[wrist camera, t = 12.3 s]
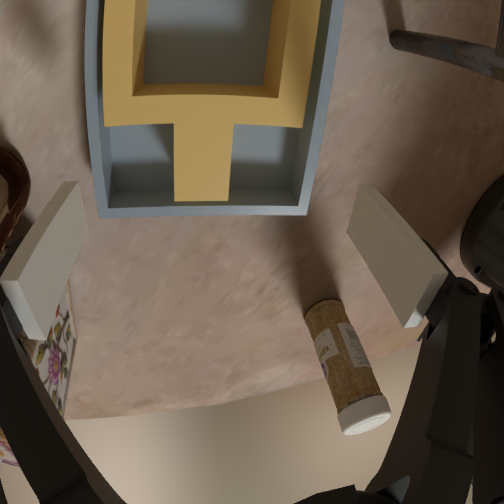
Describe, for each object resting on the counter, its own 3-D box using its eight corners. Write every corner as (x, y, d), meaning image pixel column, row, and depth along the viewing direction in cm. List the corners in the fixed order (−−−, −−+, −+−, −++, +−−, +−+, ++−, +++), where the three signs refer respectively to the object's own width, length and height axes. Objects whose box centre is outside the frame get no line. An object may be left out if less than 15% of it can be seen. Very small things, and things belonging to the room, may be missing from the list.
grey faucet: (415, -13, 15) (540, -3, 6) (405, 52, 18) (527, 93, 9) (397, -20, 14) (523, -19, 6) (388, 46, 18) (511, 83, 9)
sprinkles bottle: (297, 310, 33) (338, 431, 22) (338, 291, 32) (391, 408, 22) (311, 331, 36) (348, 440, 25) (348, 314, 35) (394, 420, 24)
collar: (274, 173, 22) (289, 201, 19) (124, 173, 20) (112, 203, 17) (302, -37, 13) (327, -50, 10) (127, -45, 11) (112, -61, 8)
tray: (329, -46, 13) (351, -55, 11) (293, 192, 24) (306, 215, 22) (109, -58, 11) (95, -71, 8) (109, 194, 22) (99, 218, 19)
